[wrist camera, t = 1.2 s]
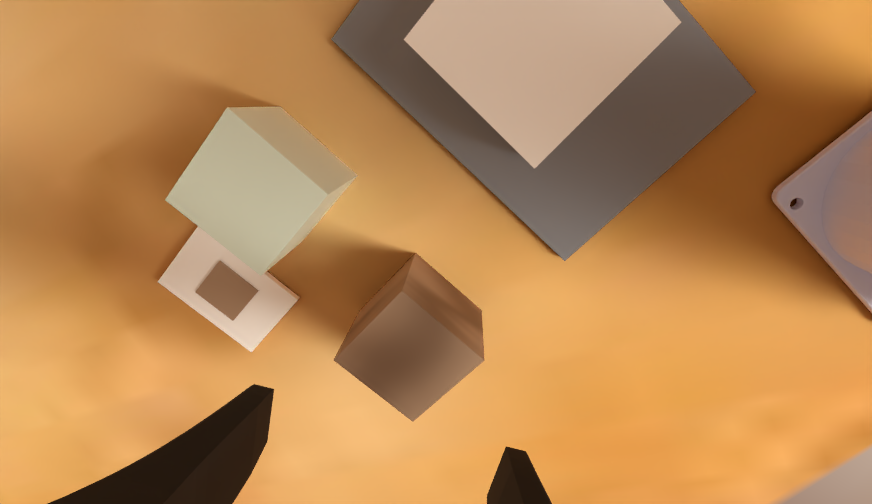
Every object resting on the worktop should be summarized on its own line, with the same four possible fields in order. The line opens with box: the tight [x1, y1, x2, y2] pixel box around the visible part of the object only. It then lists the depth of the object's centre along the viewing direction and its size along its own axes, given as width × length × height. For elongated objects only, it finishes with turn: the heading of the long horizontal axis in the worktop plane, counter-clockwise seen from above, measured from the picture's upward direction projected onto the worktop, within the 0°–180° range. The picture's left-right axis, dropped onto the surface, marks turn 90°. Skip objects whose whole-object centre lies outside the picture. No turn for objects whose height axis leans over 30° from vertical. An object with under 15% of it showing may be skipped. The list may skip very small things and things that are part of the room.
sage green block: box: [165, 106, 358, 276], centre depth 18 cm, size 4×4×4 cm
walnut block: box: [334, 253, 484, 421], centre depth 20 cm, size 4×4×4 cm
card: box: [158, 227, 300, 352], centre depth 22 cm, size 6×4×1 cm
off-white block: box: [404, 0, 681, 169], centre depth 15 cm, size 6×6×4 cm
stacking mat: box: [331, 0, 756, 261], centre depth 17 cm, size 14×10×1 cm
